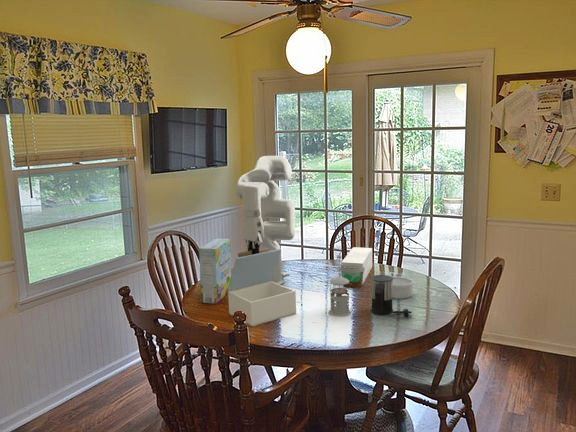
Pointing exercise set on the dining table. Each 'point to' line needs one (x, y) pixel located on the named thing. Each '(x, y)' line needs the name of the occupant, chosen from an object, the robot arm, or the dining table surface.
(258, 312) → the carton
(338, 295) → the french press
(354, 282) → the food container
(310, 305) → the dining table surface
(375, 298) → the milk frother
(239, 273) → the lid flap
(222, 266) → the snack box
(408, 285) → the ramekin
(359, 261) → the long white box
